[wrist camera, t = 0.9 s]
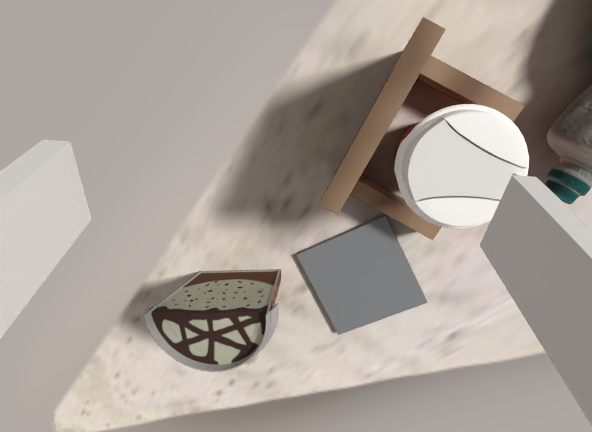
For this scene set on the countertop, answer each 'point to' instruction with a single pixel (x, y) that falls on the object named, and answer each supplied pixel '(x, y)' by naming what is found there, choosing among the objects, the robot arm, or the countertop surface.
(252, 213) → the countertop surface
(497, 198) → the paper cup
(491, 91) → the walnut rack
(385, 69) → the countertop surface
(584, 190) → the crushed grey plastic bottle
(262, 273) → the food container
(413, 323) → the countertop surface
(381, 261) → the charcoal mat
